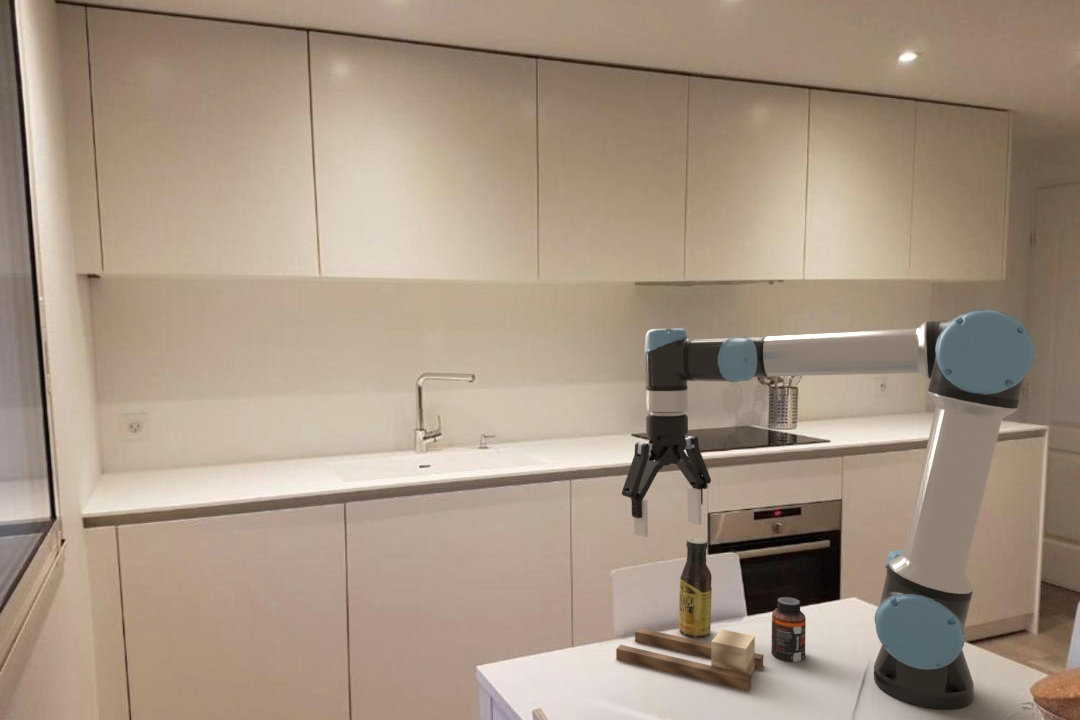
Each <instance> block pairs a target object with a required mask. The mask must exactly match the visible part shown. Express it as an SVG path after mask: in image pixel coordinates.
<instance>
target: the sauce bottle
mask: <svg viewBox="0 0 1080 720" xmlns="http://www.w3.org/2000/svg"><path fill="white" fill-rule="evenodd" d="M685 545H686V548H687V549H686V551H687V552H686V561H685V564H684V567H683V569H682V572H681V576H680V578H679V602H678V603H679V607H678V609H679V610H678V628H679V629H678V631H679V632H680V634H681V635H682V636H683V637H686V638H689V639H692V638H693V639H704V638H706V637H708V636H710V633H711V625H712V624H711V623H712V621H711V619H712V595H713V594H712V593H713V592H712V591H713V589H712V588H713V587H712V573H711V571H710V569H709V566H708V565H707V549H708V540H707V539H706V538H703V537H697V536H696V537H695V536H694V537H693V536H692V537H688V538H687V539H686V544H685Z"/></svg>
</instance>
